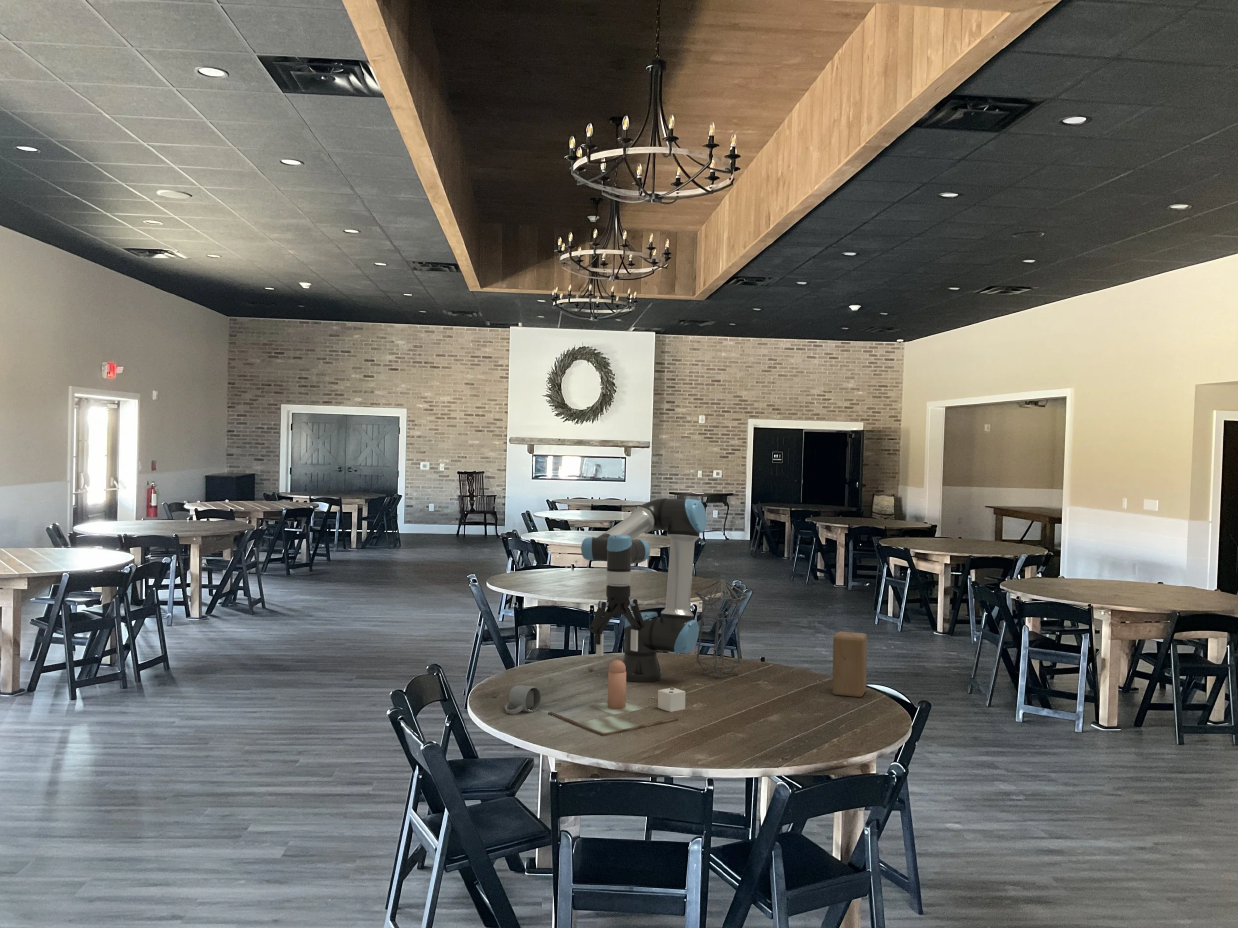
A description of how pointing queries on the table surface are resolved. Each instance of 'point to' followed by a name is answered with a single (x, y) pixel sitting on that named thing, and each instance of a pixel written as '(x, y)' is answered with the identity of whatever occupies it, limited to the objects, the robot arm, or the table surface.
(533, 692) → the ceramic mug
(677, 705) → the off-white cube
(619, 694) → the pawn
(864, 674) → the wooden block
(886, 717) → the table surface
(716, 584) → the geometric lantern
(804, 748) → the table surface
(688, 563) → the robot arm
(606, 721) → the game board
